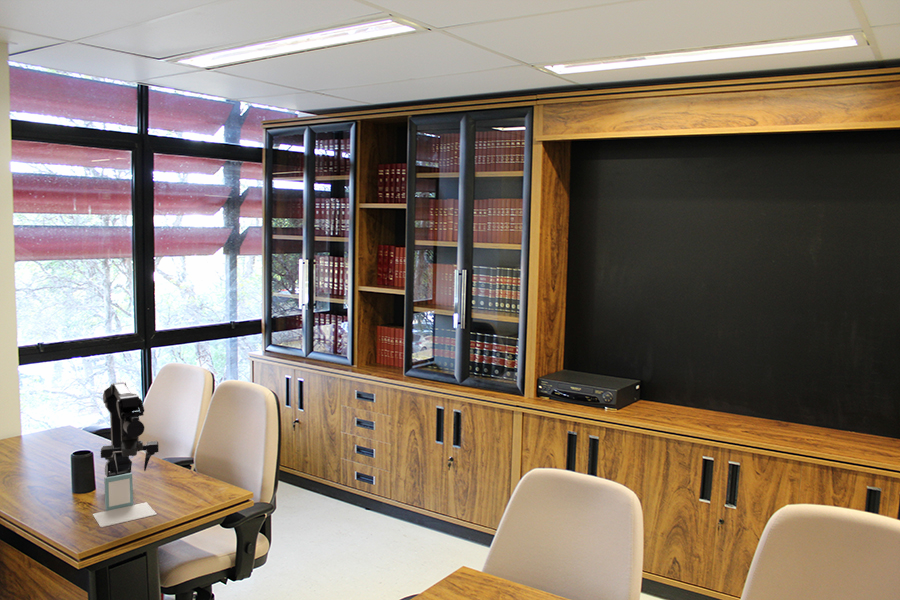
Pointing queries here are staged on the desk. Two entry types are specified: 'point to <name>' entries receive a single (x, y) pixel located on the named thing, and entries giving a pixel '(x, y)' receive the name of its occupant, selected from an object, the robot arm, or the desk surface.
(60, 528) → the desk surface
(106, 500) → the tile
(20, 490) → the desk surface
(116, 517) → the mat
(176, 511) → the desk surface
